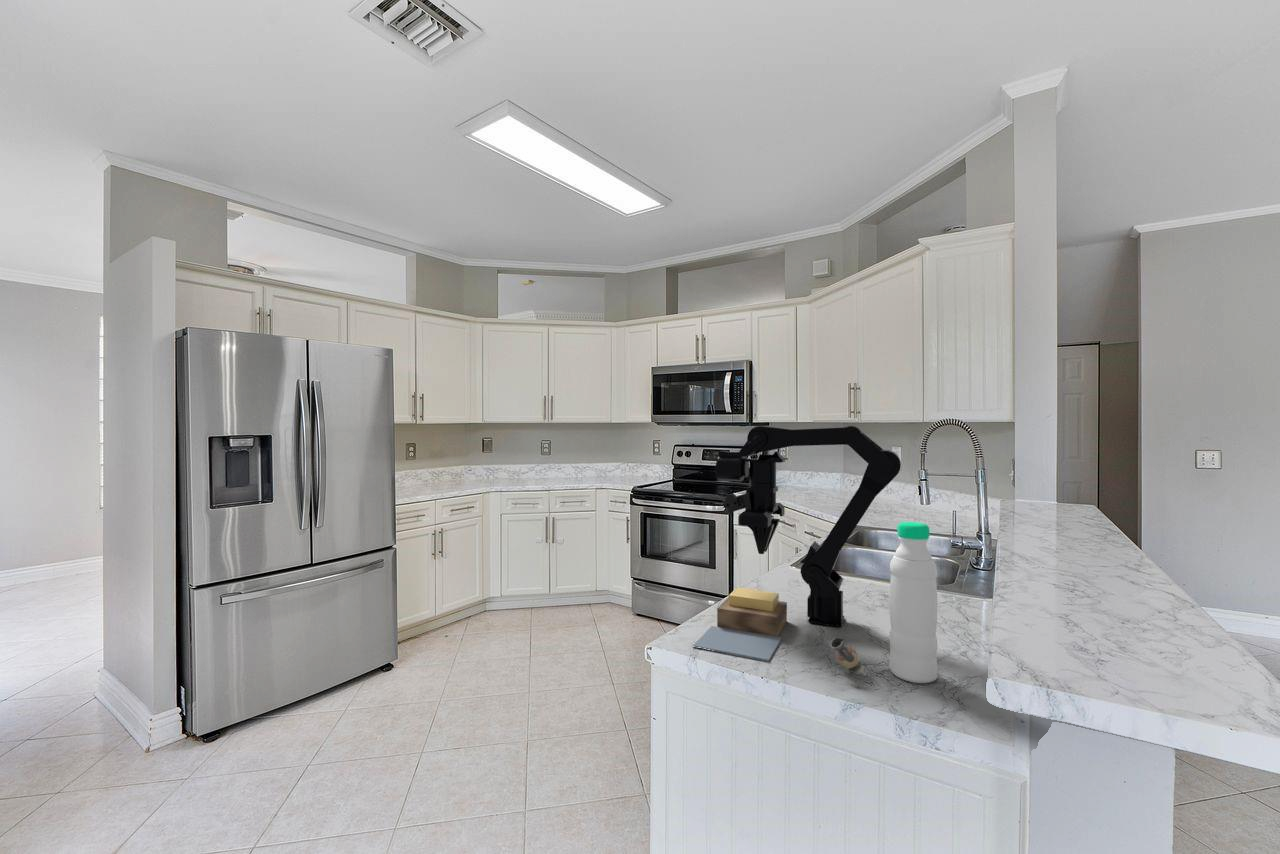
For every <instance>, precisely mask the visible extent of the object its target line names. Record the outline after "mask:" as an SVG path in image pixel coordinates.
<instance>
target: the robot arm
mask: <svg viewBox="0 0 1280 854" xmlns="http://www.w3.org/2000/svg"><path fill="white" fill-rule="evenodd" d="M746 439H747V441H746V442H745V444H744V445H743V446H742V447H741V449H740V450H739V451H728V450H719V451H718V452H717V453H718V456H717V458H716V463H715V465H714V475H715V478H716V480H717V481H726V482H727V481H728V482H731V481H732V482H743V481H744V479H745V478H748V477H749V486H748V487H746V488H745V493H742V494H738V495H736V494H735V493H730V494H727V495H725V498H724V500H723V506H722V507H723V509H725V510H726V512H727V514H728V515H729V514H733V513H734V512H737V511H741V510H744V511H742V512H741V513H740V514H739V515H738V518H737V521H738V524H737V525H738V526H740V527H741V526H742V527H747V528H749V529H750V530H751V531H752V535H753V537H754V541H755V545H756V548H757V552H758V554H759V555H764V554H765V553H766V552H768V549H769V546H770V544H771V542H772V539H773V537H774V535H775V533H776V530H777V528H778V526H779V523H780V522H781V519H780V518H774V517H775V515H779V517H784V516H785V515H786V514H785V508H786V507H785V506H784V505H783V504H782V503H781V502H777V492H778V491H779V486H777V463H784V462H786V458H785V457H784V456H783V455H781V454H780V452H779V451H775V450H779V449H785V448H789V447H801V446H803V447H804V446H805V447H806V446H809V447H810V446H839V445H841V446H842V445H843V446H844V445H846V446H847V445H848V446H849V447H850V448H851V449H852V451H854V452H855V453H856V454H858V456H859V457H860V458H861V459H862V460H864V461H865V462H866V463H867V466H866V469H865V471H864V474H863V475H862V479H861V482H860V484H859V487H858V488H857V489H856V491H855V493H854V494H853V496H852V497H851V499H850V501H849V503H848V504H847V505H846V507H845V508H844V510H843V512H842V514H841V515H840V516H839V518H838V519H837V521H836V522H835V525H834V526H833V528H832V529H831V530H830V532H829V534H828V535H827V536H826V538H825V540H823V541H822V542H821V543H820V544H819V543H817V541H813V543H812V544H811V545H810V546H809V548H808V551H807V553H806V554H805V555H804V557H803V558H802V559H801V560H800V563H801V564H802V565H801V567H800V571H799V572H800V574H801V578H802V580H803V581H804V583H806V584H807V585H808V587H809V590H810V591H809V595H808V597H807V613H806V614H807V616H806V617H807V618H808V623H811V624H816V625H822V626H830V627H835V628H837V627H838V628H842V626H843V623H844V619H845V616H844V590H840V589H841V586H842V584H843V582H844V578H843V576H841V575H840V574H839V573H838V571H837V570H835V565H836V564H837V563H836V562H837V561H838V557H839V555H840V552H841V550H842V549H843V547H844V546H845V544H846V542H847V541H848V540H849V538H850V537H851V535H852V533H853V532H854V530H855V529H856V527H857V525H858V524H859V523H860V521H861V519H862V518H863V516H864V515H865V513H866V512H867V510H869V507H870V506H871V504H872V503H873V501H874V500H875V498H876V497H877V496H878V495H879V493H880V492H882V491H883V490H884V489H885V487H887V486H888V485H889V484H890V483H891V481H893V480H894V479H895V478H896V477H897V476H898V474H899V473H900V471H901V469H902V468H901V467H902V463H901V461H902V460H901V459H900V456H899V455H898V454H897V453H895V451H893V450H890V449H884V448H882V447H881V446H880V445H879V444H877V443H876V442H875V441H874V440H872V439H871V438H870V437H869V436H867V435H866V434H865V433H864V432H863V431H862V430H861V428H860V427H858V426H857V425H856V426H855V425H848V426H846V427H825V428H824V427H822V428H821V427H820V428H802V429H801V428H800V429H799V428H798V429H791V428H785V427H777V426H769V425H757V426H754V427H752V428H751V429H750V430H749V432H748V433H747V437H746ZM770 451H774V453H773V454H767V453H766V454H761V453H765V452H770ZM759 453H760V454H759ZM757 455H758V457H757V458H748V457H751V456H752V457H753V456H757Z"/></svg>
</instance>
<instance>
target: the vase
mask: <svg viewBox="0 0 1280 854" xmlns="http://www.w3.org/2000/svg"><path fill="white" fill-rule="evenodd" d="M829 644H830V645H829V646H830V648H831V649H833V650H834V651H836V652H835V658H836V660H837V662H838V663H839V664H840V666H842V667H844V668H846V669H848V670H849V672H851V673H853V674H856V675H859V674H860V675H859V677H860V678H861V677H867V676H868V677H871V674H870V672H869V671H868V670H867V669H865V668H864V667H863V665H862V663H861V662H860V660H859V654H858V652H857V651H856V649H855V648H854V647H852V645H848V644H845V641H844V639H842V638H840V637H834V638H833V639H832V640H830V643H829Z"/></svg>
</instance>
